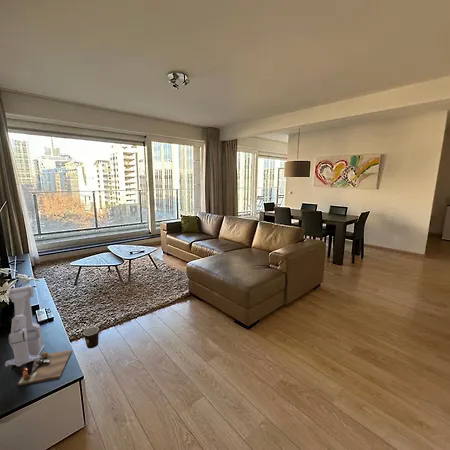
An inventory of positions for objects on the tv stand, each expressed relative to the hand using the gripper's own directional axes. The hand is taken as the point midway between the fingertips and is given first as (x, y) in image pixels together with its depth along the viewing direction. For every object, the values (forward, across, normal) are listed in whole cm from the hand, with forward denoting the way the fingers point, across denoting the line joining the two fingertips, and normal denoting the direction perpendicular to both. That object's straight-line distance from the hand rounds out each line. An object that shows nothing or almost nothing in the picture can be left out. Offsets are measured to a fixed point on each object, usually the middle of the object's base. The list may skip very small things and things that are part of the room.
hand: (25, 374), depth 128 cm
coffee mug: (+4, +26, +22) cm, 34 cm away
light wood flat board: (+3, +7, +7) cm, 11 cm away
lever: (+2, +3, +5) cm, 6 cm away
